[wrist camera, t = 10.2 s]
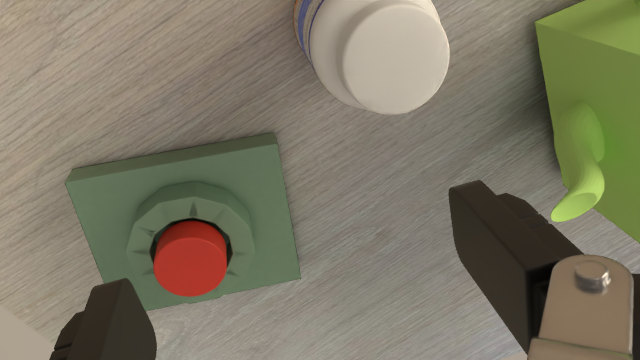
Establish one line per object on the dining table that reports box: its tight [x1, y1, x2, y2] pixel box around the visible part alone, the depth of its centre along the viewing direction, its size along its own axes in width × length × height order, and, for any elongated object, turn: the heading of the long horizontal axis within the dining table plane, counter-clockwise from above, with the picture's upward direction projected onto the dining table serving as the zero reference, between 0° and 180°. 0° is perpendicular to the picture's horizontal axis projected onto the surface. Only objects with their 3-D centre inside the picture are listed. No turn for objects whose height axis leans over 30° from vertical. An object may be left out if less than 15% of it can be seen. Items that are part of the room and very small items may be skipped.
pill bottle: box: [293, 0, 450, 115], centre depth 23 cm, size 5×5×10 cm
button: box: [153, 221, 227, 297], centre depth 27 cm, size 4×4×2 cm
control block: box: [65, 133, 301, 311], centre depth 29 cm, size 11×9×4 cm
